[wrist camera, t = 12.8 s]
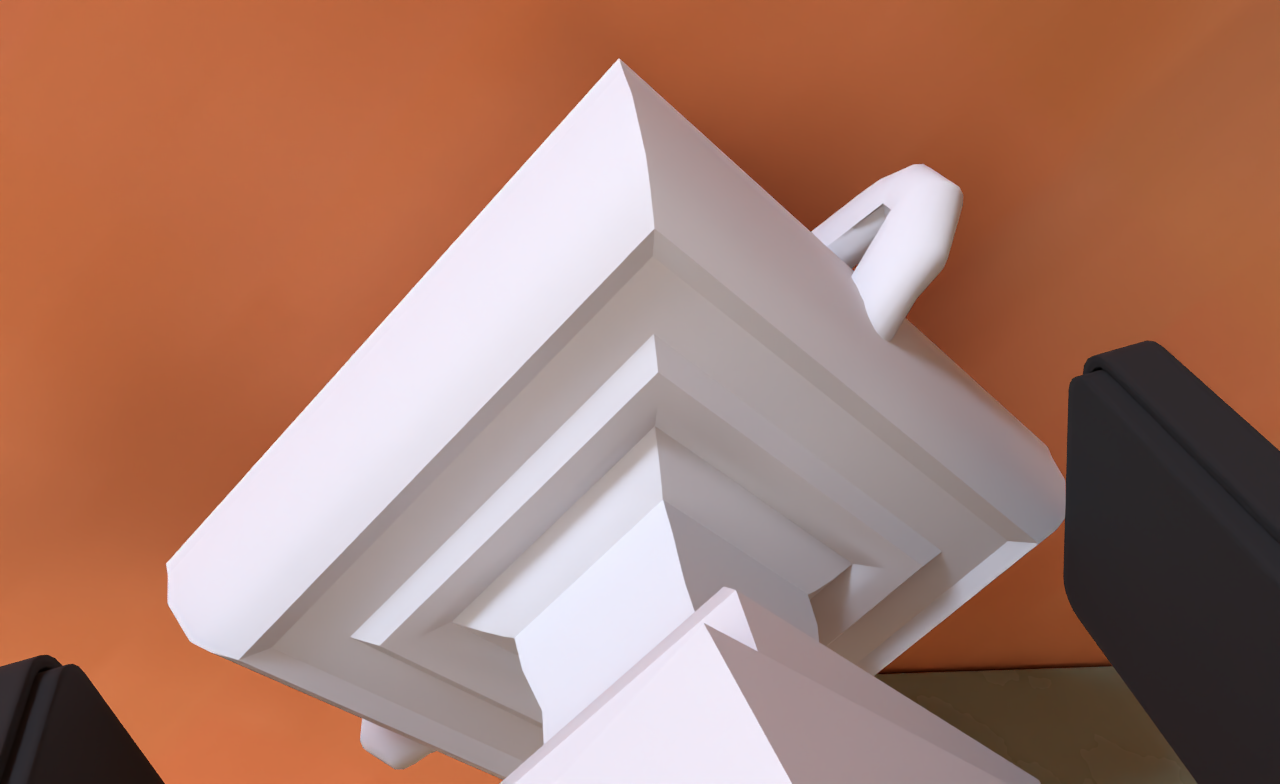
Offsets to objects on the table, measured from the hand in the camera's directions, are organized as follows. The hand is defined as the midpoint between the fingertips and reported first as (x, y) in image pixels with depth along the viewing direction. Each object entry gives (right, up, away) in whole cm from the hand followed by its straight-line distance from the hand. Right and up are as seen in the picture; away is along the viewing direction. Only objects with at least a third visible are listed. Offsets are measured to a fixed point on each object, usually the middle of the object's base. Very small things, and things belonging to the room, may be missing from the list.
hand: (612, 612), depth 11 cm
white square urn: (0, +2, +3) cm, 4 cm away
